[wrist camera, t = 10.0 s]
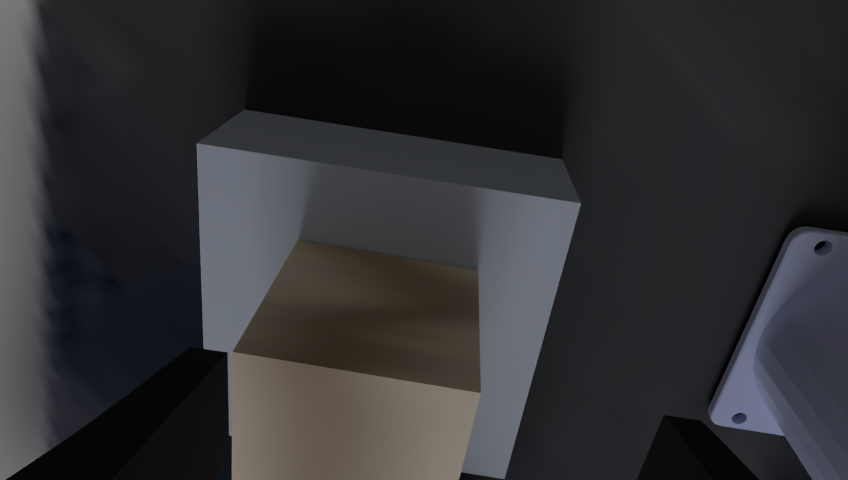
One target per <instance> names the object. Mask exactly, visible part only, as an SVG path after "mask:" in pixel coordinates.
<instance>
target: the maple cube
mask: <svg viewBox="0 0 848 480" xmlns="http://www.w3.org/2000/svg"><path fill="white" fill-rule="evenodd" d="M480 395H481V375H480V328H479V281H478V270H476V269H470V268H464V267H458V266H452V265H446V264H440V263H434V262H428V261H422V260H416V259H410V258H404V257H398V256H392V255H386V254H380V253H374V252H368V251H362V250H356V249H350V248H344V247H338V246H332V245H326V244H320V243H314V242H308V241H302V240H297V242H296V244H295V246H294V247H293V249H292V251H291V252H290V254H289V256H288V258H287V259H286V261H285V263H284V264H283V266H282V268H281V270H280V271H279V273H278V275H277V276H276V278H275V280H274V282H273V283H272V285H271V287H270V288H269V290H268V292H267V294H266V295H265V297H264V299H263V300H262V302H261V304H260V306H259V307H258V309H257V311H256V312H255V314H254V316H253V318H252V319H251V321H250V323H249V324H248V326H247V328H246V330H245V331H244V333H243V335H242V336H241V338H240V340H239V342H238V343H237V345H236V347H235V348H234V350H233V352H232V480H459V478H460V474H461V470H462V466H463V462H464V458H465V454H466V450H467V446H468V442H469V438H470V434H471V431H472V427H473V423H474V419H475V415H476V411H477V407H478V403H479V399H480Z"/></svg>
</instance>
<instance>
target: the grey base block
mask: <svg viewBox="0 0 848 480" xmlns="http://www.w3.org/2000/svg"><path fill="white" fill-rule="evenodd" d="M197 168H198V197H199V226H200V255H201V284H202V313H203V343H204V349H208V350H215V351H222V352H228V403H229V435H230V436H232V352H233V350H234V348H235V347H236V345H237V343H238V342H239V340H240V338H241V336H242V335H243V333H244V331H245V330H246V328H247V326H248V324H249V323H250V321H251V319H252V318H253V316H254V314H255V312H256V311H257V309H258V307H259V306H260V304H261V302H262V300H263V299H264V297H265V295H266V294H267V292H268V290H269V288H270V287H271V285H272V283H273V282H274V280H275V278H276V276H277V275H278V273H279V271H280V270H281V268H282V266H283V264H284V263H285V261H286V259H287V258H288V256H289V254H290V252H291V251H292V249H293V247H294V246H295V244H296V242H297V240H302V241H308V242H314V243H320V244H326V245H332V246H338V247H344V248H350V249H356V250H362V251H368V252H374V253H380V254H386V255H392V256H398V257H404V258H410V259H416V260H422V261H428V262H434V263H440V264H446V265H452V266H458V267H464V268H470V269H476V270H478V281H479V328H480V375H481V395H480V399H479V403H478V407H477V411H476V415H475V419H474V423H473V427H472V431H471V434H470V438H469V442H468V446H467V450H466V454H465V458H464V462H463V466H462V470H461V472H463V473H469V474H475V475H482V476H488V477H494V478H501V479H505V475H506V471H507V468H508V464H509V461H510V457H511V453H512V450H513V446H514V443H515V439H516V435H517V432H518V428H519V425H520V421H521V417H522V414H523V410H524V407H525V403H526V399H527V396H528V392H529V389H530V385H531V381H532V378H533V374H534V371H535V367H536V363H537V360H538V356H539V353H540V349H541V345H542V342H543V338H544V335H545V331H546V327H547V324H548V320H549V317H550V313H551V309H552V306H553V302H554V299H555V295H556V291H557V288H558V284H559V281H560V277H561V273H562V270H563V266H564V262H565V259H566V255H567V252H568V248H569V244H570V241H571V237H572V234H573V230H574V226H575V223H576V219H577V216H578V212H579V208H580V205H581V202H580V200H579V198H578V195H577V193H576V191H575V188H574V186H573V184H572V181H571V179H570V176H569V174H568V172H567V169H566V167H565V165H564V162H563V160H562V159H557V158H550V157H544V156H537V155H531V154H525V153H518V152H512V151H505V150H499V149H493V148H486V147H480V146H473V145H467V144H461V143H454V142H448V141H442V140H435V139H429V138H422V137H416V136H410V135H403V134H397V133H390V132H384V131H378V130H371V129H365V128H358V127H352V126H346V125H339V124H333V123H327V122H320V121H314V120H307V119H301V118H295V117H288V116H282V115H275V114H269V113H263V112H256V111H250V110H243V111H242V112H240V113H239V114H238V115H236V116H235V117H233V118H232V119H230V120H229V121H228V122H226V123H225V124H223V125H222V126H221V127H219V128H218V129H216V130H215V131H213V132H212V133H211V134H209V135H208V136H206V137H205V138H203V139H202V140H201V141H199V142H198V143H197Z"/></svg>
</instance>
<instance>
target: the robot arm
mask: <svg viewBox="0 0 848 480" xmlns="http://www.w3.org/2000/svg"><path fill="white" fill-rule="evenodd" d="M821 241H826V242H825V245H824V246H823V247H822V248H820V249H818V250H814V247H815V246H816V245H817V243H819V242H821ZM708 413H709V416H710V418H711V420H712V421H713V422H714V423H715V424H717V425H720V426H726V427H732V428H738V429H745V430H751V431H757V432H764V433H770V434H776V435H783V436H785V437H786V439H787V440H788V442H789V443H790V445H791V446H792V448H793V450H794V451H795V453H796V454H797V456H798V457H799V459H800V461H801V462H802V464H803V465H804V467H805V468H806V470H807V472H808V473H809V475H810V476H811V478H812V479H813V480H848V233H847V232H840V231H834V230H827V229H821V228H814V227H799V228H797V229H794V230H793V231H792V232H790V233H789V235H788V236H787V237H786V239H785V241H784V243H783V246H782V248H781V250H780V252H779V254H778V257H777V259H776V261H775V263H774V265H773V268H772V270H771V272H770V274H769V276H768V278H767V281H766V283H765V285H764V287H763V289H762V292H761V294H760V296H759V298H758V300H757V303H756V305H755V307H754V309H753V311H752V314H751V316H750V318H749V320H748V322H747V324H746V327H745V329H744V331H743V333H742V335H741V338H740V340H739V342H738V344H737V346H736V349H735V351H734V353H733V355H732V357H731V359H730V362H729V364H728V366H727V368H726V370H725V373H724V375H723V377H722V379H721V381H720V384H719V386H718V388H717V390H716V392H715V395H714V397H713V399H712V401H711V403H710V405H709V408H708ZM737 413H741V414H740V415H738V416H734V415H735V414H737ZM228 447H229V403H228V352H222V351H215V350H208V349H201V348H194V347H190V348H189V349H187V350H186V351H184V352H183V353H182V354H180V355H179V356H177V357H176V358H175V359H173V360H172V361H171V362H169V363H168V364H167V365H166V366H164V367H163V368H162V369H160V370H159V371H158V372H156V373H155V374H154V375H152V376H151V377H150V378H149V379H147V380H146V381H145V382H143V383H142V384H141V385H139V386H138V387H137V388H135V389H134V390H133V391H132V392H130V393H129V394H128V395H126V396H125V397H124V398H122V399H121V400H120V401H118V402H117V403H116V404H114V405H113V406H111V407H110V408H109V409H107V410H106V411H105V412H103V413H102V414H101V415H99V416H98V417H96V418H95V419H94V420H92V421H91V422H90V423H88V424H87V425H85V426H84V427H83V428H81V429H80V430H79V431H77V432H76V433H74V434H73V435H72V436H70V437H69V438H67V439H66V440H64V441H63V442H62V443H60V444H59V445H57V446H56V447H54V448H53V449H51V450H50V451H48V452H47V453H45V454H44V455H42V456H41V457H39V458H38V459H36V460H35V461H33V462H32V463H30V464H29V465H28V466H26V467H24V468H23V469H21V470H20V471H18V472H17V473H16V474H14V475H12V476H11V477H9V478H8V479H6V480H217V478H218V475H219V472H220V469H221V467H222V464H223V461H224V458H225V455H226V452H227V450H228ZM637 480H759V479H758V478H757V477H756V476H755V475H754V474H753V473H752V472H751V471H750V470H749V469H748V468H747V467H746V466H745V465H744V464H743V463H742V462H741V461H740V460H739V458H738V457H737V456H736V455H735V454H734V453H733V452H732V451H731V450H730V449H729V448H728V447H727V446H726V445H725V444H724V443H723V442H722V441H721V440H720V439H719V438H718V437H717V436H716V435H715V434H714V433H713V432H712V431H711V430H710V429H709V428H708V427H707V426H706V425H705V424H704V423H703V422H702V421H700V420H693V419H686V418H679V417H672V416H665V415H664V416H663V419H662V421H661V423H660V426H659V428H658V431H657V433H656V435H655V438H654V440H653V443H652V445H651V447H650V450H649V452H648V454H647V457H646V459H645V462H644V464H643V466H642V469H641V471H640V474H639V476H638V478H637Z"/></svg>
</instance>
